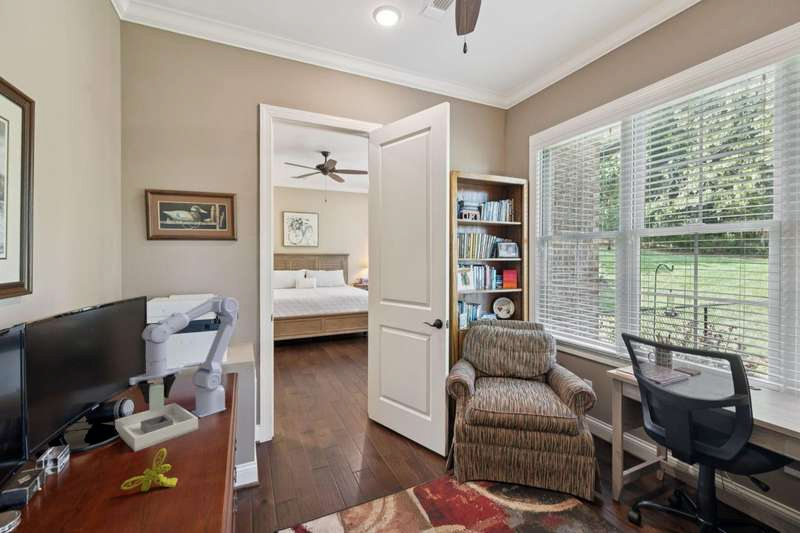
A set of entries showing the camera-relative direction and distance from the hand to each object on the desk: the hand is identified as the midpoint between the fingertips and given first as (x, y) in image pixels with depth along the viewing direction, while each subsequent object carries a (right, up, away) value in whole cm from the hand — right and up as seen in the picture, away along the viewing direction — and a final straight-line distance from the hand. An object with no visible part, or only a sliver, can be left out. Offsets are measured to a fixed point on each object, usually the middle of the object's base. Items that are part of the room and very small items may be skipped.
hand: (156, 400), depth 120 cm
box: (0, -10, 0) cm, 10 cm away
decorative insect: (+19, -11, -30) cm, 37 cm away
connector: (0, -3, 0) cm, 3 cm away
